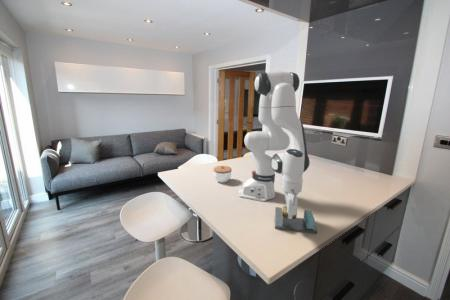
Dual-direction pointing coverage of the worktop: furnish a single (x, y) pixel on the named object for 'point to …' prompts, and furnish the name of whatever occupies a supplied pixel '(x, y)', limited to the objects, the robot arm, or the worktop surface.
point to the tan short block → (287, 213)
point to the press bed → (291, 223)
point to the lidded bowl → (222, 173)
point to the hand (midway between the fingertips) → (289, 213)
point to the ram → (309, 219)
